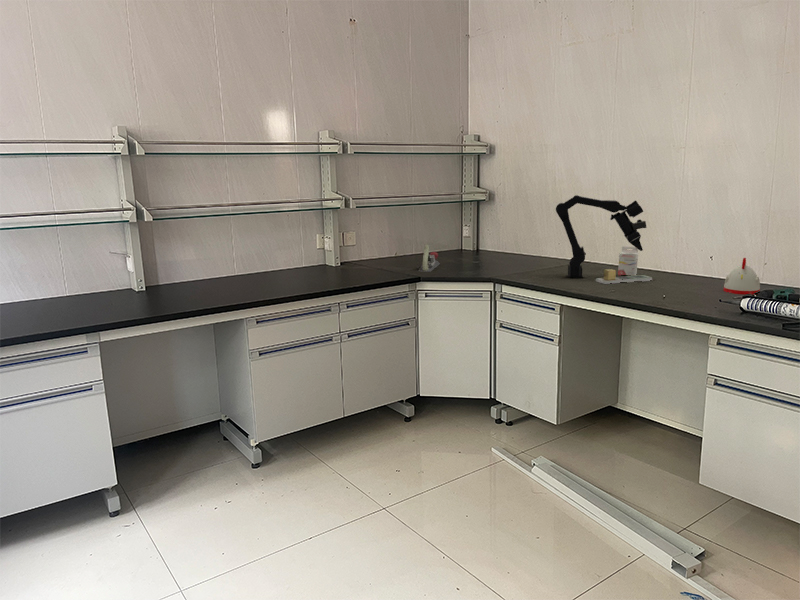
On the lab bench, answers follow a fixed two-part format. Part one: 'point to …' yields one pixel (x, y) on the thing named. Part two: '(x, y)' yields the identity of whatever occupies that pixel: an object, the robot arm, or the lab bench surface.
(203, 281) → the lab bench surface
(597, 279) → the grey compartment frame
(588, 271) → the lab bench surface
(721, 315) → the lab bench surface
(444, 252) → the lab bench surface
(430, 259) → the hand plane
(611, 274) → the brass block
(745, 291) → the kitchen timer
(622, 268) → the ink cartridge box
